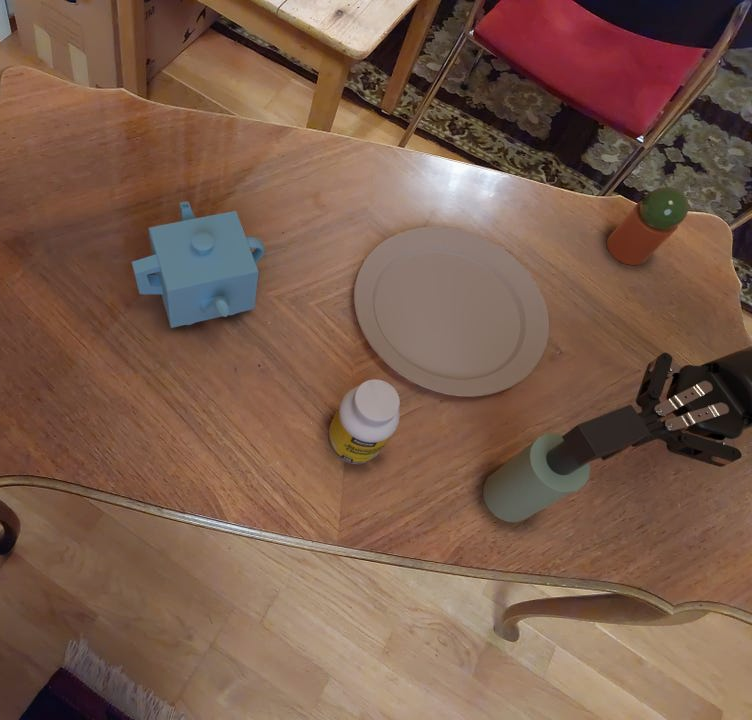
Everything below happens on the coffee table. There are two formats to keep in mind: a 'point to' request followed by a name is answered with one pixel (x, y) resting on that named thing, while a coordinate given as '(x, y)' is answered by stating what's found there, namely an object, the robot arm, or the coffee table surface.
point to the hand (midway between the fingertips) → (624, 435)
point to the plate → (451, 311)
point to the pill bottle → (364, 421)
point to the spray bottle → (558, 464)
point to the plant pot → (648, 225)
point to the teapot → (201, 267)
